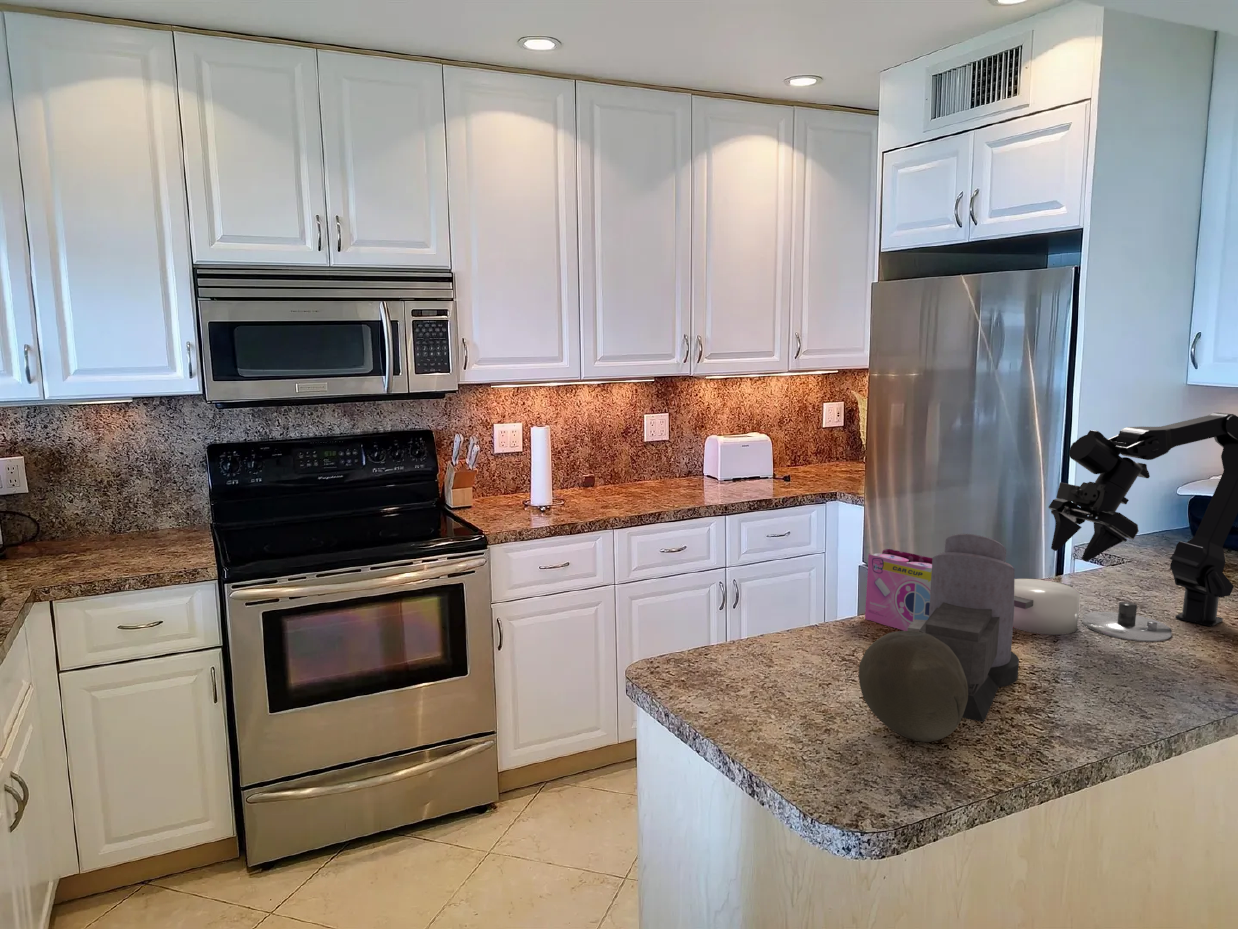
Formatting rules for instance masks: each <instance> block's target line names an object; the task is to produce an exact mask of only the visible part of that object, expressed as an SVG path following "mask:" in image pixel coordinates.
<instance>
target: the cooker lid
mask: <svg viewBox="0 0 1238 929" xmlns="http://www.w3.org/2000/svg"><path fill="white" fill-rule="evenodd" d="M1137 610H1138V605H1137V604H1136V603H1134V602H1130V601H1120V602H1119V603H1118V612H1115V611H1094V612H1093V611H1092V612H1088V613H1086V614H1084V615H1082V621H1081V622H1082V624H1083V626H1085V627H1086V626H1087V627H1088V628H1087V627H1086V628H1087V629H1089V628H1090V630H1091V629H1092V630H1091V631H1093V630H1094V631H1093V632H1096V633H1098V632H1100V633H1099V634H1101V633H1103V634H1102V635H1104V634H1105V635H1106V636H1108V637H1112V638H1117V639H1121V638H1122V640H1128V641H1135V642H1136V641H1137V642H1161V641H1162V642H1163V641H1166V640H1168V639H1170V638H1171V637H1172V628H1171V627H1170V626H1168V624H1165V623H1163V622H1161V621H1158V620H1156V619H1152V618H1150V617H1145V616H1141V615H1138V614H1137V612H1138V611H1137Z"/></svg>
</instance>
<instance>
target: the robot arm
mask: <svg viewBox="0 0 1238 929" xmlns="http://www.w3.org/2000/svg"><path fill="white" fill-rule="evenodd" d="M1208 439H1214V442H1216V443H1217V444H1218V445H1219V446H1220V447H1222V452H1221V455H1220V459H1221V463H1222V468H1223V472H1222V475H1221V477H1220V478H1219V481H1218V483H1217V485H1216V487H1215V489H1214V492H1213V494H1212V497H1211V498H1210V501H1209V503H1208V505H1207V508H1206V510H1205V512H1204V514H1203V517H1202V518H1201V521H1200V523H1199V525H1198V528H1197V529H1196V532H1195V534H1194V535H1193V537H1192V538H1191V539H1189V540H1188V541H1187V542H1184V541H1181V540H1180V541H1178V542H1177V544H1176V545H1175V549H1174V552H1173V554H1172V555H1171V556H1170V557H1169V559H1170V560H1171V562H1170V565H1169V569H1170V570H1171V572H1172V575H1173V579H1174V584H1175V585H1176V586H1180V587H1183V588H1184V595H1183V603H1182V604H1183V606H1182V612H1180V613H1178V614H1176V615H1175V618H1174V619H1177V620H1181V621H1185V622H1189V623H1190V622H1191V623H1195V624H1200V625H1204V626H1207V627H1214V626H1215V625H1218V624H1219V623H1221V622H1223V621H1224V620H1223V619H1224V618H1223V617H1218V609H1219V607H1218V606H1219V601H1220V600H1219V598H1225V597H1229V596H1231V594H1232V592H1233V589H1234V585H1233V583H1232V582H1231V581H1230V579H1229V578H1228V577H1227V576H1226V575H1225V574H1224V569H1225V566H1226V557H1225V552H1224V545H1225V542H1226V540H1227V538H1228V536H1229V533H1230V532H1231V530H1232V527H1233V524H1234V522H1235V520H1236V518H1237V516H1238V415H1236V414H1234V413H1226V412H1225V413H1224V412H1213V413H1212V412H1211V413H1210V414H1208V415H1204V416H1199V417H1196V418H1191V419H1187V420H1183V421H1180V422H1174V423H1170V424H1167V425H1166V424H1165V425H1162V426H1127V427H1124V428H1122V429H1121V430H1120V431H1119V433H1118V434H1116V435H1114V436H1112V437H1110V438H1107V437H1106V436H1104V434H1102V433H1101V432H1100V431H1099V430H1094V429H1093V430H1092V429H1090V430H1089V431H1088V433H1086V434H1085V435H1082V436H1081V437H1079V438H1078V439H1077V440H1076V441H1073V442H1072V443H1071V446H1070V448H1069V450H1068V456H1069V458H1070V459H1071V460H1073V461H1074V462H1075V463H1077V464H1078V465H1080V466H1081V467H1082V468H1084V469H1086V470H1087V471H1089V472H1090V473H1092V474H1094V475H1098V476H1097V478H1096V479H1095V482H1093V481H1089V482H1082V483H1081V485H1075V484H1069V483H1066V482H1059V485H1058V489H1057V493H1056V498H1055V499H1052V500H1051V503H1049V505H1048V509H1049V510H1050V513H1051V515H1053V518H1054V520H1055V526H1054V532H1053V536H1052V537H1053V538H1052V542H1051V547H1050V549H1051V550H1052V551H1055V552H1056V551H1058V550H1060V549H1061V548H1062V547H1063V546H1064V545H1065V544H1066V543H1068V541H1069V540H1070V539H1071V538H1073V537H1074V535H1076V533H1078V532H1079V531H1080V530H1081V529H1082V526H1081V525H1082V524H1084V523H1085V522H1086V521H1088V522H1091V523H1093V530H1094V532H1093V535H1092V536H1091V538H1090V540H1089V542H1088V544H1087V546H1086V547H1085V550H1084V551H1083V554H1082V557H1081V560H1083V561H1084V562H1089V561H1091V560H1093V559H1094V558H1096V557H1097V556H1099V555H1100V554H1102V553H1104V552H1106V551H1107V550H1109V549H1111V548H1112V547H1115V546H1117V545H1119V544H1121V543H1123V542H1125V543H1126V542H1128V539H1129V540H1131V541H1133V540H1134V539H1135V537H1136V536H1137V534H1138V533H1139V532H1140V531H1139V525H1138V523H1136V522H1134V521H1133V520H1131V519H1130V518H1128V517H1127V516H1125V515H1124V514H1122V513H1121V512H1117V510H1118V508H1119V507H1120V505H1121V504H1123V505H1127V504H1128V502H1129V499H1128V498H1127V497H1126V495H1127V494H1128V493H1129V491H1130V490H1131V487H1132V486H1133V485H1134V483H1135V481H1136V480H1137V479H1138V478H1143V479H1144V478H1145V479H1149V478H1150V477H1151V476H1150V472H1149V470H1148V465H1147V463H1143V462H1136V461H1135V460H1133V459H1132V458H1135V459H1138V460H1140V459H1141V460H1144V461H1145V460H1146V461H1152V460H1155V459H1158V458H1159V457H1161V456H1164V455H1166V454H1168V453H1169V452H1170V450H1171V449H1173V448H1177V447H1179V446H1183V445H1188V444H1191V443H1196V442H1200V441H1203V440H1208ZM1120 455H1121V456H1123V457H1121V456H1120Z"/></svg>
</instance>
